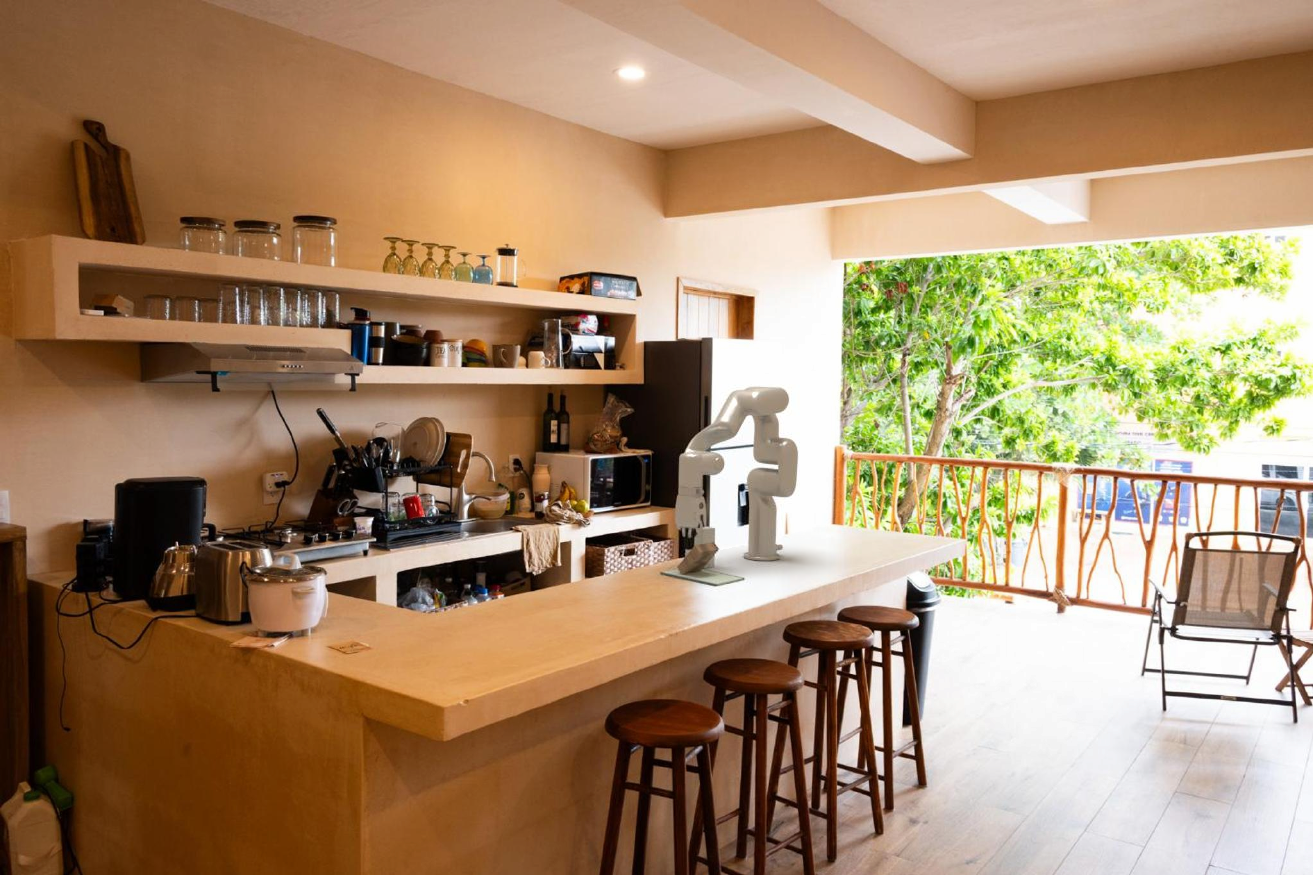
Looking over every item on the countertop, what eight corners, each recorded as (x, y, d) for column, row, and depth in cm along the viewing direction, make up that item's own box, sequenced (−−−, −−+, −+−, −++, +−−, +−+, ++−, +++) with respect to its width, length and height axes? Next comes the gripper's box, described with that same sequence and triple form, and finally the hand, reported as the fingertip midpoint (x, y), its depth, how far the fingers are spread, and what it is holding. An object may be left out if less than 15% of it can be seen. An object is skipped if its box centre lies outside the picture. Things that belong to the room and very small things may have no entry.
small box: (714, 566, 321) (715, 527, 320) (700, 568, 317) (701, 529, 316) (698, 562, 327) (699, 524, 326) (684, 564, 323) (685, 526, 322)
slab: (695, 563, 312) (713, 541, 306) (700, 570, 310) (719, 549, 305) (676, 567, 305) (694, 545, 300) (681, 574, 304) (700, 552, 298)
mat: (689, 568, 317) (689, 566, 317) (744, 579, 301) (744, 577, 301) (660, 574, 307) (660, 572, 307) (715, 586, 291) (715, 584, 291)
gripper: (715, 493, 304) (714, 551, 305) (681, 488, 314) (680, 544, 315) (699, 495, 298) (698, 553, 299) (665, 490, 309) (664, 547, 310)
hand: (689, 549), depth 307 cm, fingers closed
